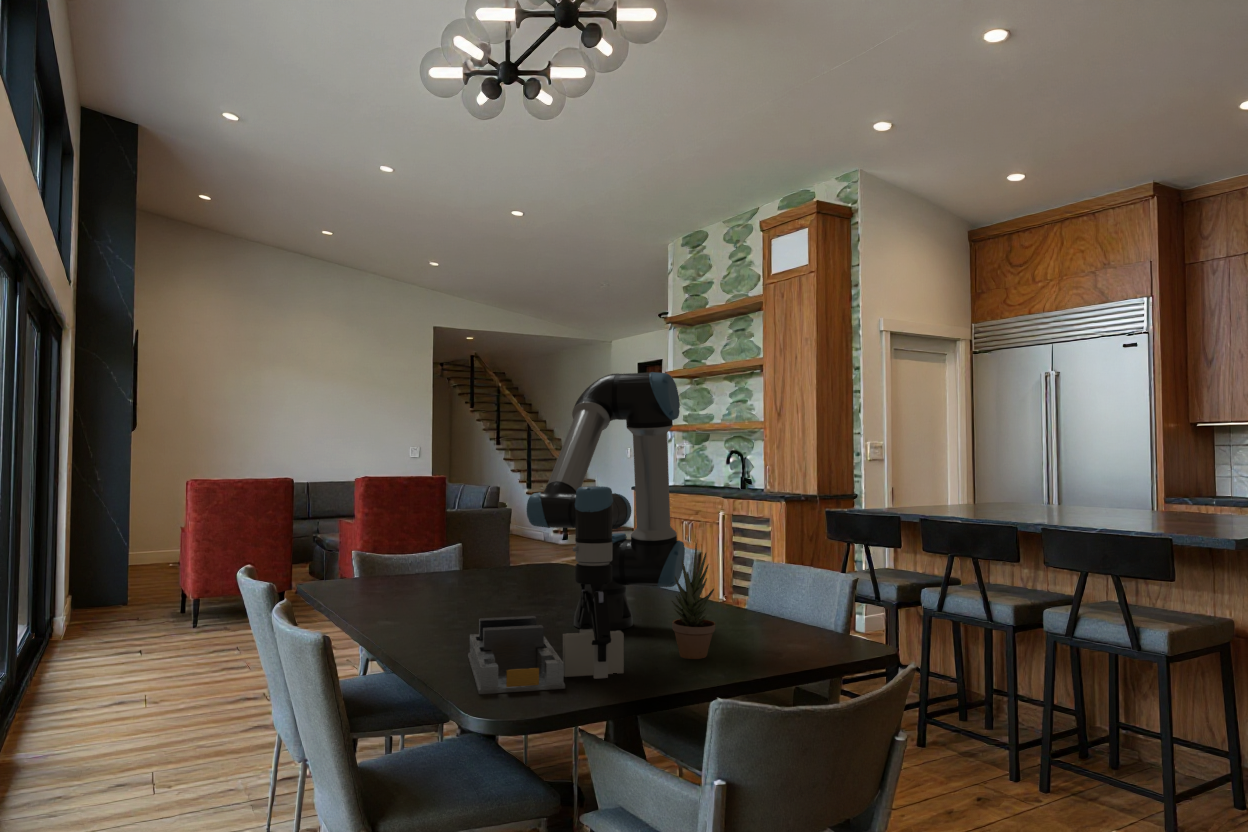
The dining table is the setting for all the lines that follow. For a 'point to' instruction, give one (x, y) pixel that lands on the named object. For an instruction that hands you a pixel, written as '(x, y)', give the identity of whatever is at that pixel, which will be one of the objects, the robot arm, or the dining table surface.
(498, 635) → the rack
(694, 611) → the potted plant
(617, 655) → the panel
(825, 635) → the dining table surface
